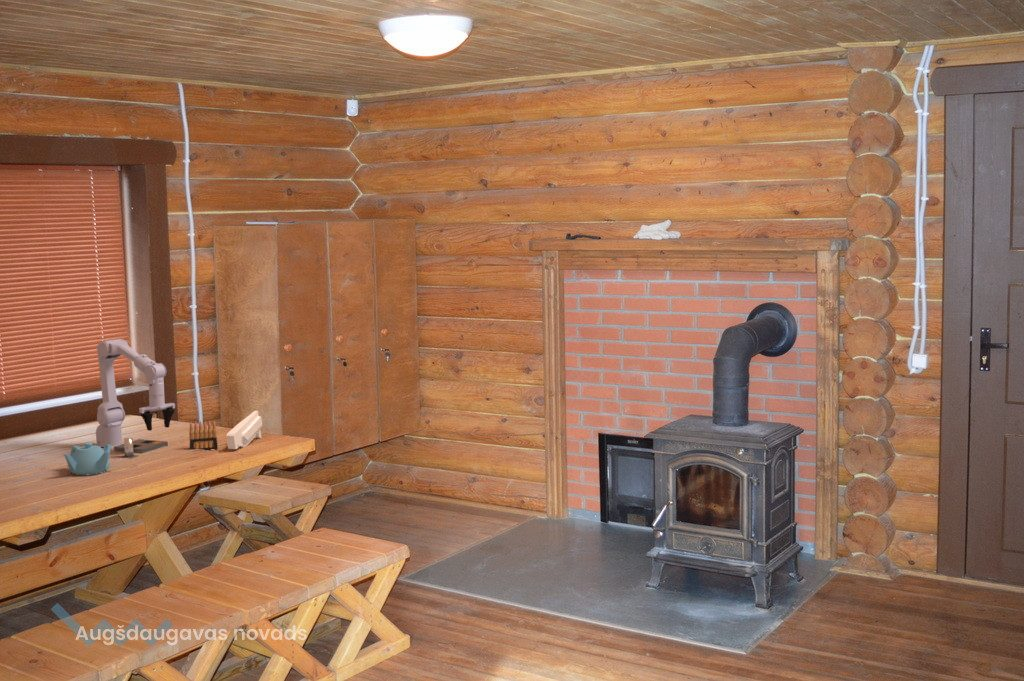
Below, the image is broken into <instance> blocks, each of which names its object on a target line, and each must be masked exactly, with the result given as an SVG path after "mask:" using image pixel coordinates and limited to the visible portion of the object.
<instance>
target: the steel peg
mask: <svg viewBox="0 0 1024 681" xmlns="http://www.w3.org/2000/svg"><path fill="white" fill-rule="evenodd" d="M133 441H134V438H133V437H125V438H124V439H123V442H124V443H123V444H124V449H125V452H124V455H125V457H133V456H134V455H135V454H134V453H135V452H133Z"/></svg>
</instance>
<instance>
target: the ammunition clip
mask: <svg viewBox="0 0 1024 681" xmlns="http://www.w3.org/2000/svg"><path fill="white" fill-rule="evenodd" d="M216 425H217V424H216V421H215V420H212V422H211V421H210V420H208V424H207V422H206V420H204V422H203V423H202V421H199V425H198V423H197V421H194V426H193V422H192V421H190V423H189V450H192V451H193V450H209V451H212V450H211V449H218V437H217V433H218V432H217V426H216Z"/></svg>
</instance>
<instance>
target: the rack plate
mask: <svg viewBox="0 0 1024 681" xmlns="http://www.w3.org/2000/svg"><path fill="white" fill-rule="evenodd" d="M168 446H169V442H168V441H166V440H165V441H164V440H154V439H142V438H141V439H140V438H138V439H136V440H133V453H137V454H145V453H149V452H151V451H154V450H157V449H161V448H163V447H168ZM113 451H114V452H115V451H116V452H123V453H125V449H124V443H122V444H120V445H116V446H113Z"/></svg>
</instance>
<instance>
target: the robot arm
mask: <svg viewBox="0 0 1024 681" xmlns="http://www.w3.org/2000/svg"><path fill="white" fill-rule="evenodd" d="M96 351H97V359H98V360H97V362H98V368H99V369H98V370H99V379H100V390H101V394H102V395H101V398H102V403H100V404H99V405H98V407H97V415H96V420H97V422H98V424H99V425H98V426H97V428H96V430H95V437H96V440H95V441H96V446H100V447H104V448H105V446H106V444H111V447H115V446H118V445H121V444H123V442H122V440H123V439H122V438H123V437H122V436H123V435H122V424H123V421H125V419H126V412H125V410H124V407H123V403H122V402H120V401H119V400H118V398H117V390H116V389H117V388H116V380H115V377H116V376H115V370H114V362H115V360H116V359H117V358H119V357H121V356H123V357H124V358H126V359H128V360H129V361H131V362H133V365H134V368H137V369H138V370H139V371H141V372H142V373H144V377H145V378H146V383H147V385H148V400H149V405H148V406H143V407H139V409H138V412H139V414H140V416H141V418H142V419H143V421H144V424H145V427H146V429H147V431H149V432H150V431H152V430H153V425H152V423H153V422H152V421H153V416H154V414H153V413H151V412H157V411H162V414H163V424H164V426H163V427H164V428H170V424H171V421H172V417H173V414H175V408H176V403H174V402H169V403H165V402H166V401H165V398H166V397H165V383H164V382H165V381H164V378H165V377H166V376H167V372H168V371H167V367H166V366H165V365H164V364H163V362H156V361H154V360H152V359H151V358H149V357H148V355H147V354H140V353H138V351H135V350H134V349H133V348H132V347H131V346H129V343H128V341H127V340H125V339H123V338H118V339H116V338H115V339H108V340H102V341H100V342H99V343H98V345H97V346H96ZM104 448H103V449H104Z"/></svg>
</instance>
